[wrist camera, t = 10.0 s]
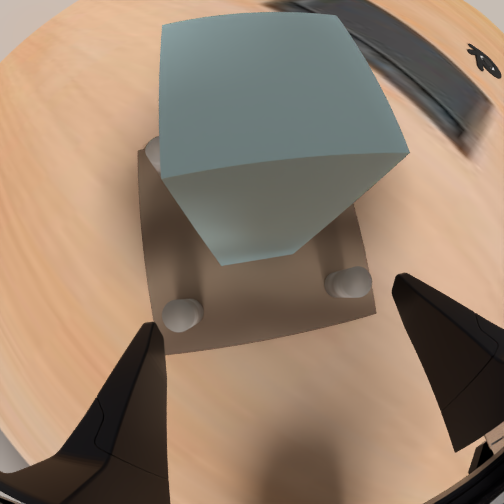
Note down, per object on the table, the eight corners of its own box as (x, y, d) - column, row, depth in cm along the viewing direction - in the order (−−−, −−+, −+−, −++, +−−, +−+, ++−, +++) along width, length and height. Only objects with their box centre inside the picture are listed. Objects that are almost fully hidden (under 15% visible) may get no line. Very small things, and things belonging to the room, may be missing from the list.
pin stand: (368, 312, 18) (404, 316, 13) (165, 352, 17) (141, 368, 13) (323, 130, 20) (341, 94, 15) (142, 158, 19) (120, 125, 15)
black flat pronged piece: (484, 79, 24) (487, 77, 23) (454, 43, 25) (456, 41, 24) (503, 80, 25) (505, 78, 24) (477, 47, 26) (479, 45, 25)
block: (292, 254, 17) (410, 152, 4) (221, 265, 17) (161, 179, 4) (279, 187, 18) (336, 15, 5) (211, 197, 18) (162, 25, 5)
